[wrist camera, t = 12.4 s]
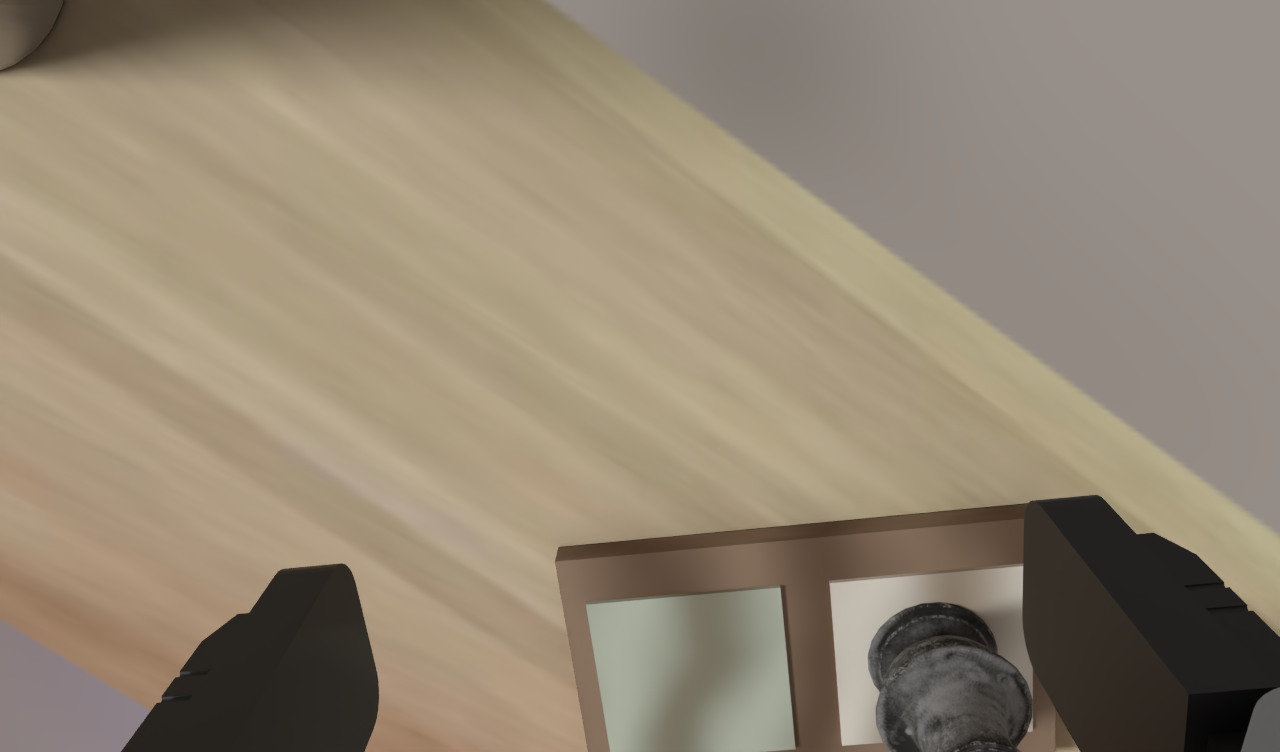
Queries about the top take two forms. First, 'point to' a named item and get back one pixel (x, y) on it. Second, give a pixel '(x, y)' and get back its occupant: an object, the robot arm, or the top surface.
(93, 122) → the top surface
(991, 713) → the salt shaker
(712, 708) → the board
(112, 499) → the top surface
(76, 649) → the top surface
